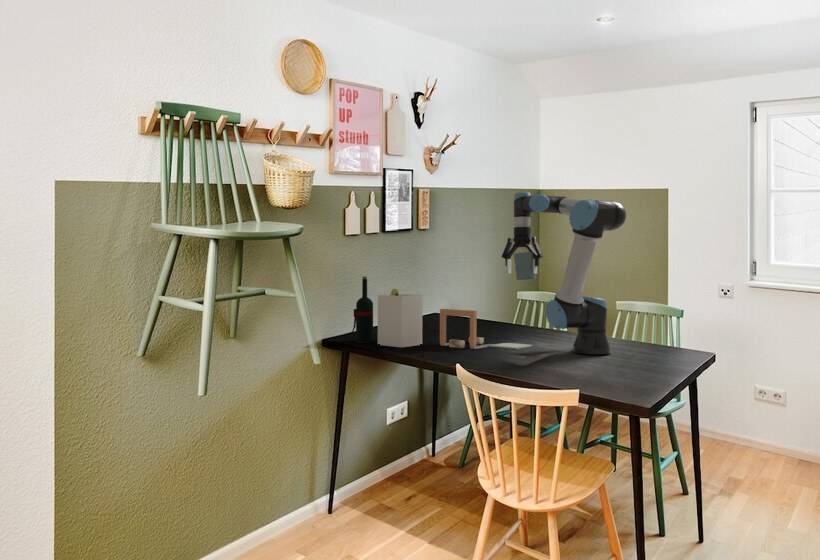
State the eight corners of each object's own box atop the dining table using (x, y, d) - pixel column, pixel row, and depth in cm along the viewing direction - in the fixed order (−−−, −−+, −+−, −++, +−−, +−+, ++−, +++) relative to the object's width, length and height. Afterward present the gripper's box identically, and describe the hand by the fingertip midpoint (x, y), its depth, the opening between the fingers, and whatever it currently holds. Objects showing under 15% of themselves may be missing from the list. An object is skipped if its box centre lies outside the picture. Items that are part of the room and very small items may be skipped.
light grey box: (422, 344, 286) (422, 295, 285) (401, 347, 275) (401, 295, 274) (398, 342, 295) (398, 294, 294) (377, 344, 284) (377, 294, 284)
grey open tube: (510, 280, 292) (509, 253, 293) (523, 279, 300) (521, 254, 300) (529, 278, 285) (528, 251, 286) (542, 278, 293) (540, 252, 293)
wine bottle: (355, 341, 296) (355, 276, 296) (375, 342, 293) (376, 276, 292) (348, 343, 289) (348, 276, 288) (369, 344, 286) (369, 276, 285)
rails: (494, 345, 282) (494, 344, 282) (474, 348, 271) (474, 347, 271) (460, 342, 294) (460, 341, 294) (440, 345, 283) (440, 344, 283)
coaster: (532, 346, 281) (532, 344, 281) (516, 349, 271) (516, 347, 271) (506, 343, 289) (506, 342, 289) (490, 346, 279) (490, 345, 279)
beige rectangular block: (483, 344, 287) (483, 337, 287) (460, 348, 274) (460, 341, 274) (472, 343, 291) (472, 336, 291) (449, 346, 277) (449, 339, 277)
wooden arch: (476, 346, 272) (476, 310, 272) (473, 346, 270) (473, 311, 270) (442, 343, 284) (442, 308, 283) (439, 343, 282) (439, 309, 282)
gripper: (550, 226, 288) (550, 273, 288) (503, 228, 304) (502, 273, 305) (542, 225, 282) (542, 273, 283) (494, 227, 298) (494, 273, 299)
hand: (521, 273), depth 294 cm, fingers open, 13 cm apart
